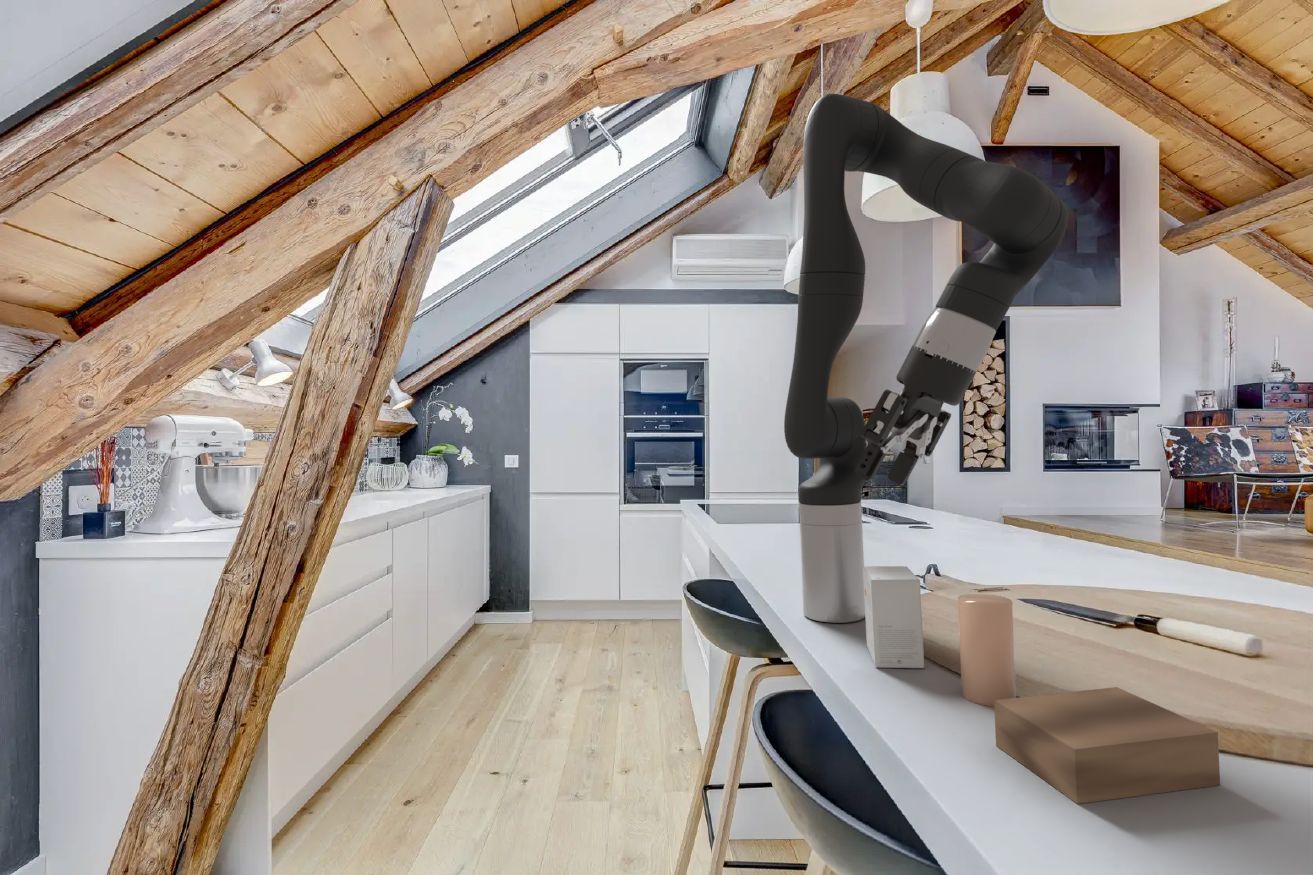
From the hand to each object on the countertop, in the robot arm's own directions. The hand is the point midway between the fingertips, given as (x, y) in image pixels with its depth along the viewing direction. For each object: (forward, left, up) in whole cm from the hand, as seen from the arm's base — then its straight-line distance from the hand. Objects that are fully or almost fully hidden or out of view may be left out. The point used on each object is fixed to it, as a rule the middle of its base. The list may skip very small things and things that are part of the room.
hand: (878, 479), depth 77 cm
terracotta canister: (+12, +5, -22) cm, 25 cm away
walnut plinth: (+26, +5, -22) cm, 34 cm away
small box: (-1, +2, -22) cm, 22 cm away
